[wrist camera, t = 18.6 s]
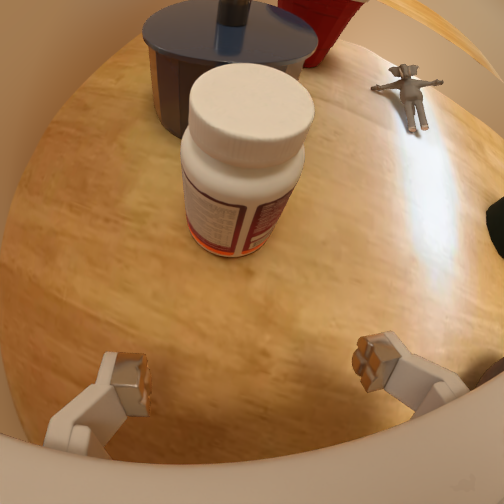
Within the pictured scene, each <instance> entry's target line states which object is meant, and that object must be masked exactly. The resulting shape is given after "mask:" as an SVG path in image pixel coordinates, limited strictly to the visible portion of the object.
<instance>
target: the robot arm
mask: <svg viewBox="0 0 504 504" xmlns="http://www.w3.org/2000/svg"><path fill="white" fill-rule="evenodd" d="M357 346H358V349H357V350H356V351H355V352H354V353H353V357H352V366H353V369H354V371H355V373H356V374H357V375H359V376H361V381H360V382H361V384H362V385H363V387H364V389H365V390H366V392H367V393H368V392H373V391H377V390H381V389H384V390H385V391H387V392H388V393H389V394H391V395H392V396H394V397H395V398H397V399H398V400H399V401H401V402H402V403H404V404H405V405H407V406H408V407H410V408H411V409H412V410H414V411H415V413H414V414H413V416H412V417H411V418H410V420H409V421H407V422H404V423H402V424H399V425H397V426H394V427H391V428H389V429H386V430H383V431H380V432H377V433H374V434H371V435H368V436H365V437H362V438H358V439H355V440H352V441H348V442H344V443H341V444H337V445H333V446H329V447H325V448H321V449H316V450H312V451H307V452H302V453H297V454H292V455H286V456H280V457H274V458H267V459H260V460H252V461H242V462H231V463H217V464H151V463H136V462H125V461H116V460H112V458H111V457H110V456H109V454H108V453H107V452H106V450H105V449H104V446H105V445H106V444H107V443H108V441H109V440H110V439H111V438H112V436H113V435H114V434H115V433H116V431H117V430H118V429H119V428H120V426H121V425H122V424H123V423H124V421H125V420H126V419H127V416H131V417H150V406H151V402H150V399H149V395H150V394H151V393H152V377H151V372H150V369H149V368H148V367H147V362H148V360H147V357H146V354H144V353H125V352H107V351H106V352H105V354H104V355H103V359H102V362H101V365H100V369H99V372H98V376H97V379H96V383H95V384H91V385H90V386H88V387H87V388H86V389H85V390H84V391H82V392H81V393H80V394H79V395H78V396H76V397H75V398H74V399H73V400H72V401H71V402H69V403H68V404H67V405H66V406H65V407H64V408H62V409H61V410H60V411H59V412H58V413H56V414H55V415H54V416H53V417H52V418H51V419H50V422H49V426H48V429H47V432H46V436H45V440H44V443H43V446H40V445H36V444H33V443H29V442H26V441H23V440H20V439H17V438H14V437H11V436H8V435H5V434H2V433H0V504H504V371H503V372H502V373H500V374H499V375H497V376H495V377H494V378H492V379H491V380H489V381H487V382H486V383H484V384H482V385H481V386H479V387H477V388H475V389H474V390H472V391H470V390H469V388H468V387H467V386H466V385H465V383H464V382H463V381H462V380H461V379H460V377H459V376H458V375H457V374H456V373H454V372H452V371H450V370H448V369H446V368H444V367H441V366H439V365H437V364H435V363H433V362H431V361H429V360H427V359H424V358H422V357H420V356H418V355H416V354H411V353H410V351H409V350H408V349H407V348H406V346H405V345H404V344H403V343H402V341H401V340H400V339H399V338H398V337H397V335H396V334H395V333H394V332H392V331H388V332H383V333H378V334H373V335H368V336H362V337H360V338H359V339H358V342H357Z"/></svg>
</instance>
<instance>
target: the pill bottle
mask: <svg viewBox="0 0 504 504" xmlns="http://www.w3.org/2000/svg"><path fill="white" fill-rule="evenodd" d="M314 115H315V107H314V102H313V100H312V98H311V95H310V94H309V92H308V91H307V90H306V89H305V87H304V86H303V85H302V84H300V83H299V82H298V81H297V80H296V79H294V78H293V77H291V76H290V75H288V74H286V73H284V72H282V71H280V70H277V69H275V68H272V67H268V66H264V65H259V64H252V63H234V64H227V65H223V66H219V67H216V68H213V69H211V70H209V71H207V72H206V73H204V74H203V75H201V76H200V77H199V78H198V79H197V80H196V81H195V83H194V84H193V86H192V88H191V91H190V96H189V118H188V120H189V125H188V127H187V128H186V130H185V132H184V135H183V137H182V142H181V151H180V155H181V165H182V177H183V187H184V198H185V209H186V216H187V223H188V227H189V230H190V232H191V234H192V236H193V237H194V239H195V240H196V241H197V242H198V244H199V245H201V246H202V247H203V248H204V249H206V250H207V251H209V252H211V253H213V254H216V255H219V256H224V257H239V256H244V255H247V254H250V253H252V252H254V251H256V250H257V249H258V248H260V247H261V246H262V245H263V244H264V243H265V242H266V240H267V239H268V237H269V236H270V234H271V232H272V231H273V229H274V227H275V225H276V223H277V221H278V219H279V217H280V215H281V213H282V211H283V209H284V207H285V205H286V203H287V201H288V199H289V197H290V195H291V193H292V191H293V189H294V187H295V186H296V184H297V182H298V180H299V178H300V176H301V172H302V170H303V166H304V161H305V149H304V144H303V143H304V141H305V139H306V135H307V133H308V131H309V129H310V126H311V124H312V122H313V119H314Z"/></svg>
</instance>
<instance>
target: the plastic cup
mask: <svg viewBox="0 0 504 504" xmlns="http://www.w3.org/2000/svg"><path fill="white" fill-rule="evenodd" d="M368 1H369V0H278V8H281V9H284V10H286V11H288V12H290V13H292V14H294V15H296V16H298V17H299V18H301V19H302V20H304V21H305V22H306V23H308V24H309V25H310V26H311V27H312V28H313V30H314V31H315V33H316V35H317V37H318V46H317V48H316V50H315V52H314V53H313V54H312V55H311V56H310V57H309V58H307V59H306V60H305V63H304V66H303V67H307V68H311V67H316V66H317V65H319V64H320V62H321V61H322V60H323V59H324V57H325V56H326V54H327V53H328V51H329V50H330V48H331V47H332V46H333V45H334V43H335V42H336V40H337V39H338V37H339V36H340V34H341V32H342V31H343V30H344V28H345V27H346V25H347V24H348V22H349V21H350V19H351V18H352V17H353V16H354V15H355V13H356V12H357V10H359V9H360V7H361V6H362V5H363V4H364V3H365V2H368Z"/></svg>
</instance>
